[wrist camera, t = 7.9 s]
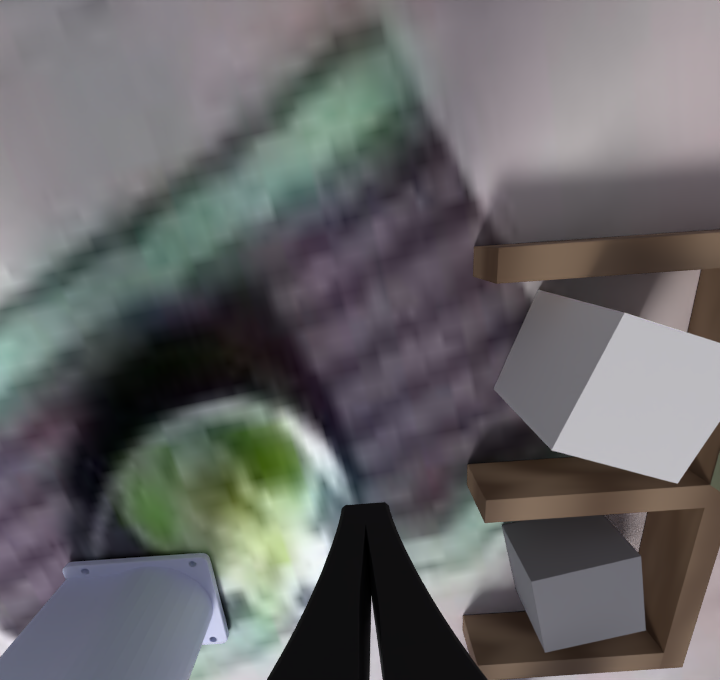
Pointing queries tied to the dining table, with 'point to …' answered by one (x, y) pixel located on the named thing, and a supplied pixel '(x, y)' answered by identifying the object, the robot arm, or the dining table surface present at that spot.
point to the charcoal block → (576, 579)
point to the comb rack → (608, 479)
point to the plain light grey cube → (613, 386)
